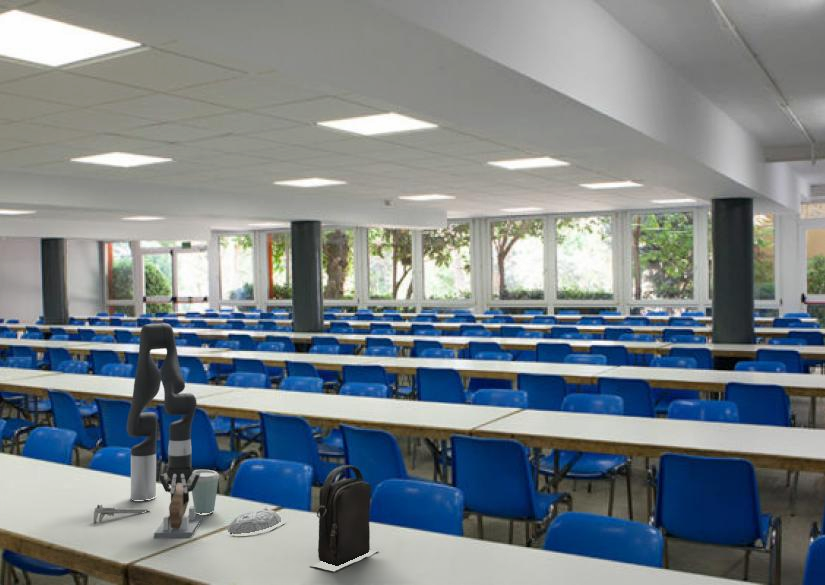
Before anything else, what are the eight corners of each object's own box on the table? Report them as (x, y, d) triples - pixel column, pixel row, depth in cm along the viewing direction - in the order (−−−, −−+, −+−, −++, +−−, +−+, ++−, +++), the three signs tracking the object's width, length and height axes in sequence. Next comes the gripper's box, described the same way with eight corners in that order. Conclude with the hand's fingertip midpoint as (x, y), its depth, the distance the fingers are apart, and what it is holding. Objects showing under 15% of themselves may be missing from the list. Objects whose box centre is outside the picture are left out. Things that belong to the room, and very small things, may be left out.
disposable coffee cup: (223, 509, 288) (223, 468, 288) (213, 517, 277) (213, 475, 277) (195, 508, 289) (195, 468, 289) (184, 516, 278) (184, 474, 278)
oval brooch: (211, 531, 260) (214, 511, 260) (263, 517, 281) (265, 499, 281) (245, 544, 252) (248, 523, 252) (296, 529, 273) (298, 510, 273)
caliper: (94, 523, 270) (94, 505, 270) (93, 523, 271) (93, 505, 271) (150, 512, 285) (150, 495, 285) (148, 511, 286) (149, 494, 286)
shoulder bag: (356, 546, 247) (357, 457, 247) (380, 552, 242) (380, 461, 242) (309, 567, 228) (309, 470, 228) (333, 573, 223) (334, 474, 223)
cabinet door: (180, 499, 273) (178, 480, 270) (193, 499, 273) (191, 479, 271) (170, 527, 258) (169, 507, 255) (184, 527, 258) (182, 506, 256)
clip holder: (168, 520, 274) (168, 504, 274) (203, 519, 275) (203, 503, 275) (154, 537, 254) (154, 520, 254) (191, 536, 255) (191, 520, 255)
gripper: (203, 450, 269) (202, 500, 269) (161, 450, 268) (161, 501, 268) (199, 454, 262) (198, 506, 262) (156, 455, 261) (155, 507, 260)
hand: (179, 503), depth 265 cm, fingers closed on cabinet door, 3 cm apart
